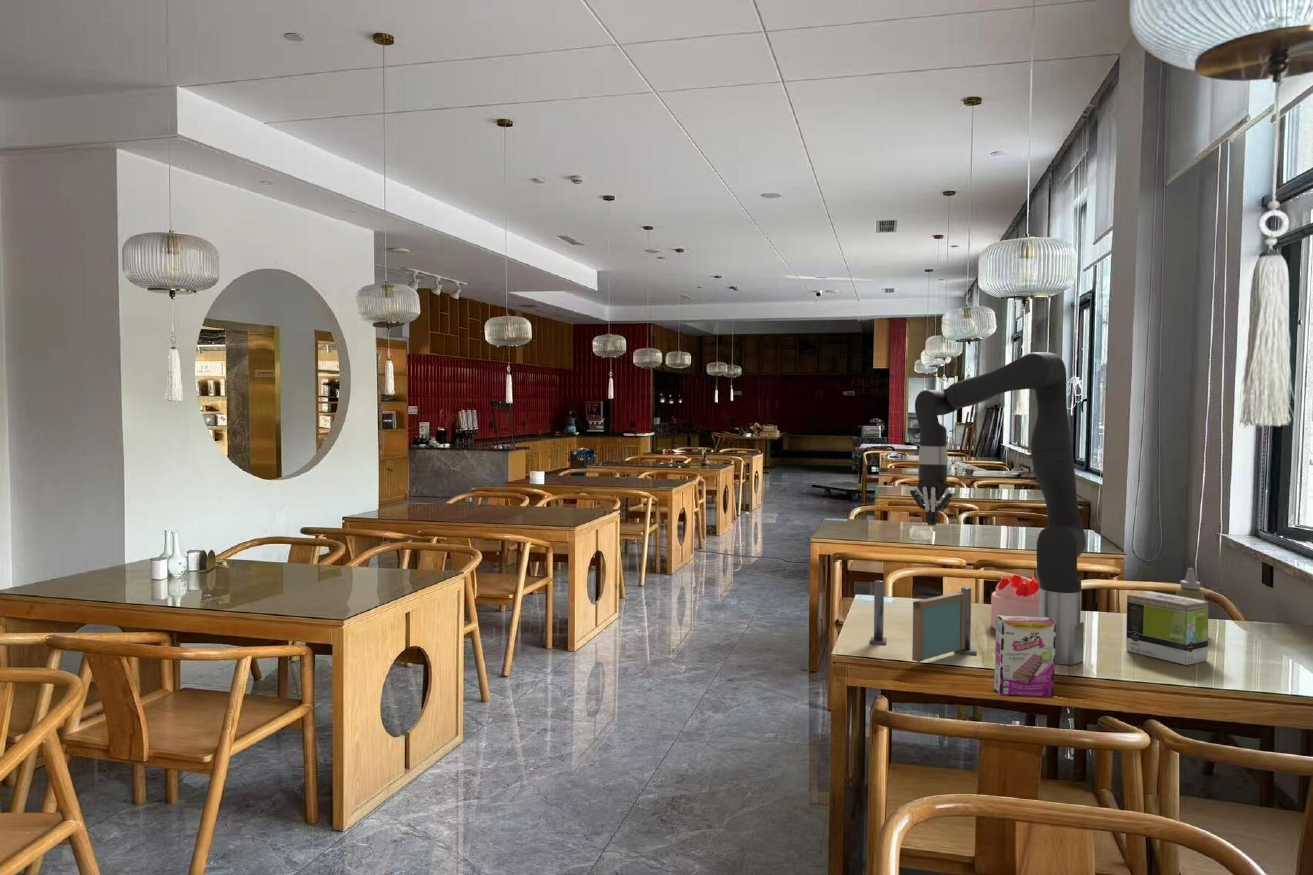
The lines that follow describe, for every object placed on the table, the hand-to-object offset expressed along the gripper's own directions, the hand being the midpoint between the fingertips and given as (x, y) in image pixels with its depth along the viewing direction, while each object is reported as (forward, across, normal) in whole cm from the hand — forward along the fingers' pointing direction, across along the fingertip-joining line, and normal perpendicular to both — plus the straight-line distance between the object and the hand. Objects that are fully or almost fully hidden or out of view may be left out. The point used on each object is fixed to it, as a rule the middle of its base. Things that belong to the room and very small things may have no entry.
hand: (932, 525), depth 237 cm
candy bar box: (+29, +41, -36) cm, 62 cm away
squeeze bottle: (+29, +51, +47) cm, 75 cm away
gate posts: (+29, +8, -18) cm, 35 cm away
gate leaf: (+28, +16, -25) cm, 41 cm away
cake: (+29, +19, +20) cm, 40 cm away
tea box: (+29, +53, +19) cm, 63 cm away
